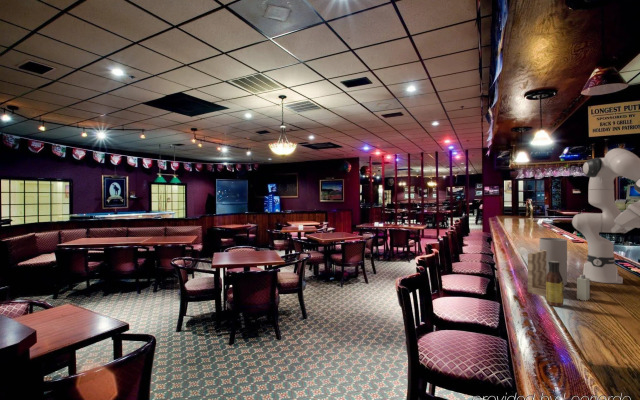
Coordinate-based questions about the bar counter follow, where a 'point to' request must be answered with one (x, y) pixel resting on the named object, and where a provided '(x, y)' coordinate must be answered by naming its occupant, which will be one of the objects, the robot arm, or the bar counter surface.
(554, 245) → the cylinder vase
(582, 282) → the beige block
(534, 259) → the back board shelf
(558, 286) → the sauce bottle
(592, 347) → the bar counter surface
